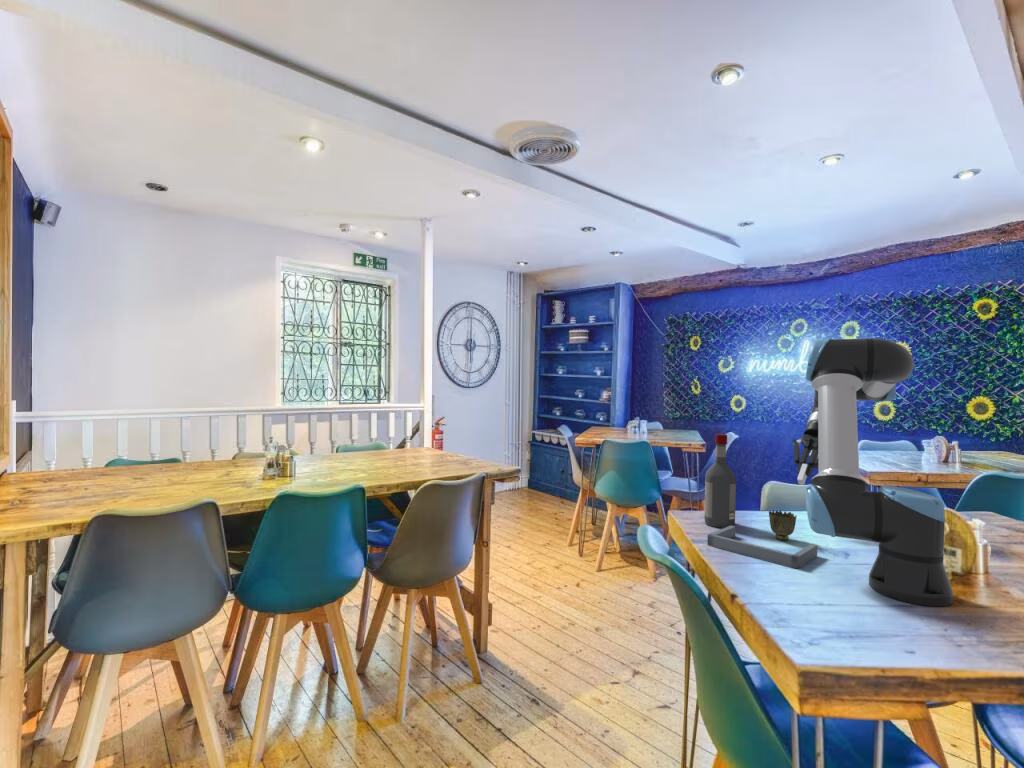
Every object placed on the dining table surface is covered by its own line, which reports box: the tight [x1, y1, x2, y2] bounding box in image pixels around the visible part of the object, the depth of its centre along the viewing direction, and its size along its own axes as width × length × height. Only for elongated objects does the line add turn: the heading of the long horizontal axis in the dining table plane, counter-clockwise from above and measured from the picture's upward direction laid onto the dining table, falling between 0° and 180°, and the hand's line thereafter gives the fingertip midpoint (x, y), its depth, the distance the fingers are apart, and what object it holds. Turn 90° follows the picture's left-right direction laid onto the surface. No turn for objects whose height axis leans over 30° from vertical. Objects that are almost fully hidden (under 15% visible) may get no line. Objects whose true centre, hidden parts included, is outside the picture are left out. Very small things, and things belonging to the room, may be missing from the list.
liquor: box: [703, 433, 737, 529], centre depth 169 cm, size 9×9×30 cm
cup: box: [768, 510, 798, 542], centre depth 153 cm, size 8×7×8 cm
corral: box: [706, 525, 818, 570], centre depth 143 cm, size 24×15×3 cm, turn 42°
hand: (800, 482), depth 163 cm, fingers closed
